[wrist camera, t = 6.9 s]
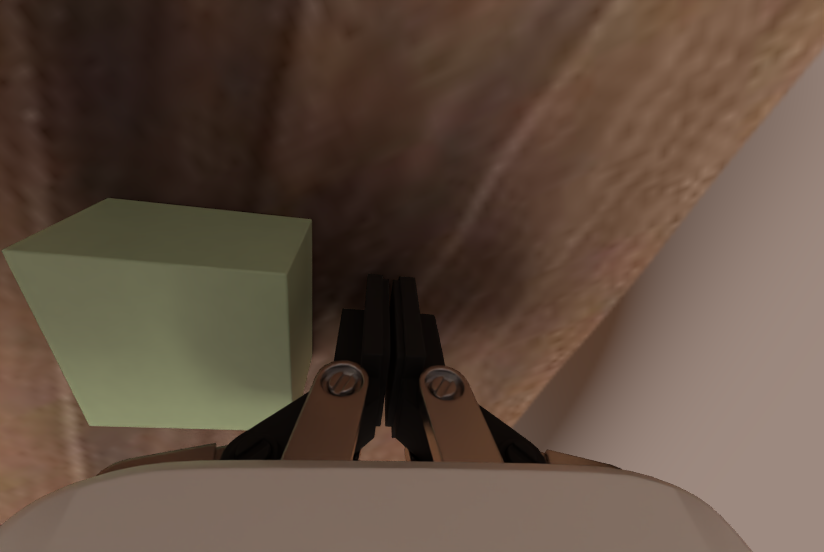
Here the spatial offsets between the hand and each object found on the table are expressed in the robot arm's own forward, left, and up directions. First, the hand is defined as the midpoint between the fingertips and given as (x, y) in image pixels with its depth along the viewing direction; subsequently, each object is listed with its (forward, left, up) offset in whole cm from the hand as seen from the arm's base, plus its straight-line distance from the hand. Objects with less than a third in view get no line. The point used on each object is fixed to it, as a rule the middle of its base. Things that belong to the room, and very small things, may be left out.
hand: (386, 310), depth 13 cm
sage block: (0, -6, -1) cm, 6 cm away
